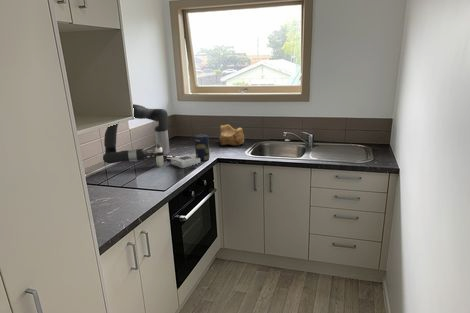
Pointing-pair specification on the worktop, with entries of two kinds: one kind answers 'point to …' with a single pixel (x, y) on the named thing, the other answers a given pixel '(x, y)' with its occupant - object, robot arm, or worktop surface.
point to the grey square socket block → (185, 161)
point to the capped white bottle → (159, 158)
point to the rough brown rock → (231, 135)
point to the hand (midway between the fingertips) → (163, 152)
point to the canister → (202, 146)
